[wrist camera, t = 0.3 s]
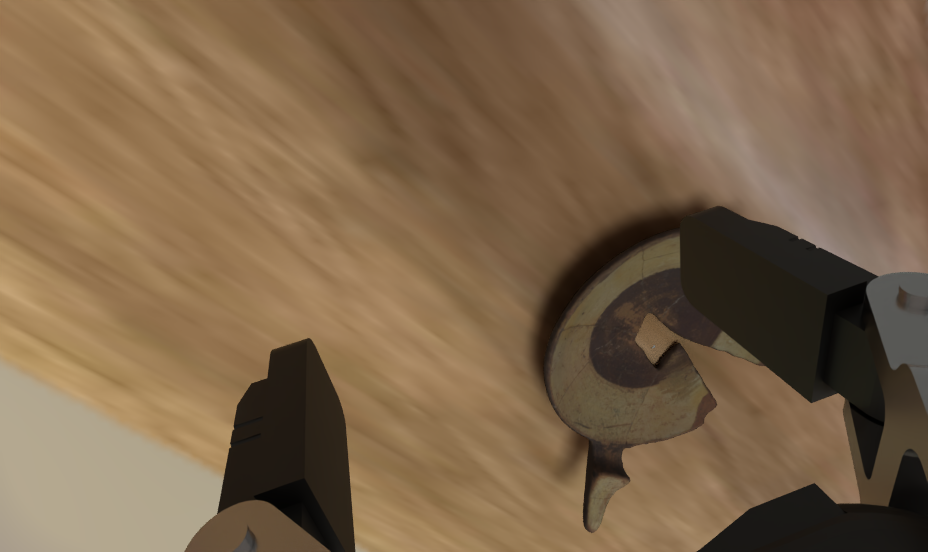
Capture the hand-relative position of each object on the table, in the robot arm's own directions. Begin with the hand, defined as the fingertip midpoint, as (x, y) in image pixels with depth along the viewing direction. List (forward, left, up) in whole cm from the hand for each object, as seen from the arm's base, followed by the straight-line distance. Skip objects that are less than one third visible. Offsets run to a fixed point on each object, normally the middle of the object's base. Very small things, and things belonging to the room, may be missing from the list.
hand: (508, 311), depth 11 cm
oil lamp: (+27, +16, -28) cm, 42 cm away
